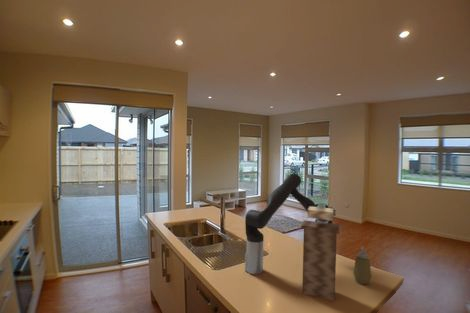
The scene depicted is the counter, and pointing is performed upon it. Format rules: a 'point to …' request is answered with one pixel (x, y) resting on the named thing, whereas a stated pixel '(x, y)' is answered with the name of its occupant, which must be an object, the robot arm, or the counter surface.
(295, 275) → the counter surface
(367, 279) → the squeeze bottle
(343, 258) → the counter surface
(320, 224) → the stand
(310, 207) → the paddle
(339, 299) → the counter surface
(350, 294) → the counter surface
